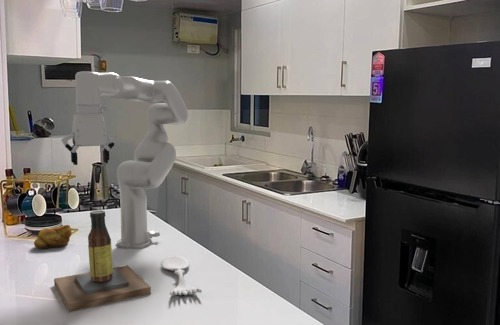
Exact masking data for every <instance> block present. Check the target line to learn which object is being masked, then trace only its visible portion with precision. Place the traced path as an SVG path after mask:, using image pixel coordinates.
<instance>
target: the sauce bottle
mask: <svg viewBox="0 0 500 325" xmlns="http://www.w3.org/2000/svg"><path fill="white" fill-rule="evenodd" d="M89 217H90V220H91V224H90V225H91V226H90V227H91V229H90V231H89V233H88V235H87V239H88V240H87V242H88V248H87V249H88V261H89V272H90V275H91V280H92V281H94V282H106V281H109V280H110V279H112V276H113V268H114V265H113V264H114V263H113V251H112V238H111V236H110V234H109V231H108V228H107V226H106V219H105V218H106V212H105V210H93V211H90V213H89Z"/></svg>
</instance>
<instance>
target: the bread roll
mask: <svg viewBox="0 0 500 325" xmlns="http://www.w3.org/2000/svg"><path fill="white" fill-rule="evenodd" d="M71 236H72V228H71V225H69V224H65V225H60V226H54V227H51V228H42V229H41V230H39V233H38V234H37V238H36V239H35V240H34V242H33V245H34V247H35V248H37V249H41V250H44V249H50V248H60V247H64V246H66V245H68V243H69V242H70V237H71Z"/></svg>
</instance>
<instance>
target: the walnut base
mask: <svg viewBox="0 0 500 325" xmlns="http://www.w3.org/2000/svg"><path fill="white" fill-rule="evenodd" d="M53 284H54V287H55V289H56V291H57V292H58V294H59V297H60V298H61V300H62V303H64V305H65V306H66V309H67V311H68V312H69V313H70V312H74V311H78V310H83V309H88V308H93V307H96V306H101V305H105V304H109V303H115V302H119V301H124V300H128V299H129V300H130V299H132V298H137V297H138V298H139V297H141V296H145V295H150V294H151V293H152V292H151V291H152V290H151V288H152V287H151V286H150V285H149V284H148V283H147V282H146V281H145V280H144V279H143V278H142V277H141V276H140V275H139V274H138V273H137V272H136V271H135V270H134V269H132V268H131V267H130V266H129V264H127V265H121V266H116V267H113V276H112V279H110V280H109V281H106V282H94V281H92V280H91V275H90V271H88V272H84V273H78V274H72V275H67V276H62V277H58V278H57V277H55V278H54V279H53Z"/></svg>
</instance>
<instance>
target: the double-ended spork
mask: <svg viewBox="0 0 500 325" xmlns="http://www.w3.org/2000/svg"><path fill="white" fill-rule="evenodd" d="M189 266H190V261H189V259H187V258H186V257H184V256H180V255H169V256H167V257H165V258H164V259H163V260H162V261H161V268H163V269H165V270H168V271H173V272H174V274H175V275H177V276H178V284H177V286H176V287H174V288H173V289H171V291H170V292H169V294H170V296H171V297H172V296H173V295H175V296H177V295H178V296H182V295H184V296H187V295H193V294H195V295H196V294H197V293H200V294H201V293H202V288H198V287H195V286H192V285H189V284H187V283H186V281H185V277H184V275H183V274H185V270H186V269H187V268H188V267H189Z"/></svg>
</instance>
